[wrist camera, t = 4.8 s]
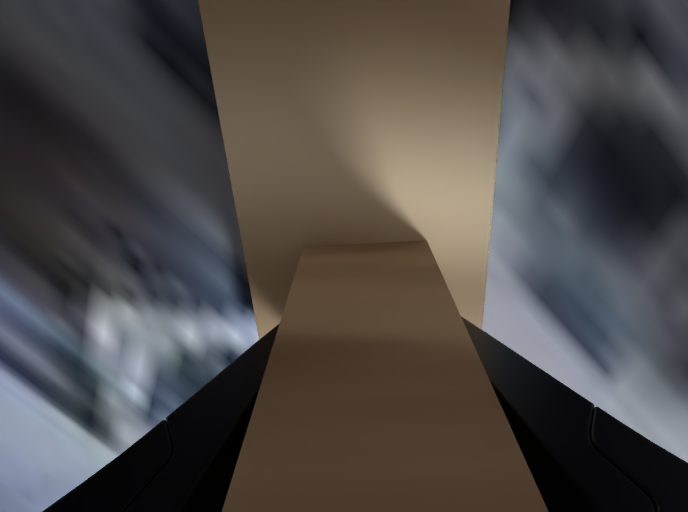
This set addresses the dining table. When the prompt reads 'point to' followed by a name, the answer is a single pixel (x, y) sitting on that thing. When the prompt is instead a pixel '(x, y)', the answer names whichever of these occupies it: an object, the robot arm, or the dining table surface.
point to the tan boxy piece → (367, 250)
